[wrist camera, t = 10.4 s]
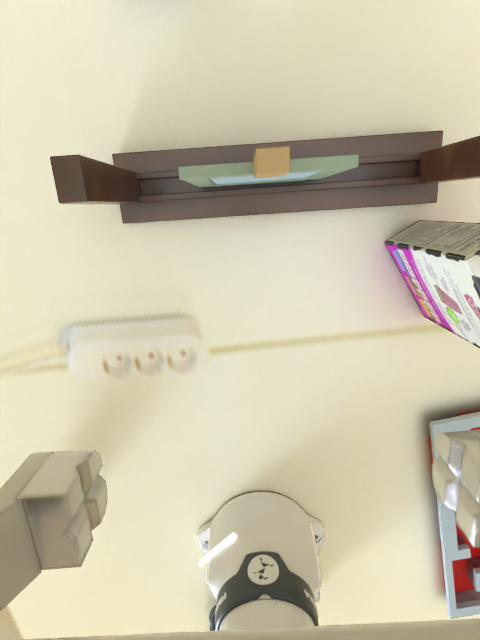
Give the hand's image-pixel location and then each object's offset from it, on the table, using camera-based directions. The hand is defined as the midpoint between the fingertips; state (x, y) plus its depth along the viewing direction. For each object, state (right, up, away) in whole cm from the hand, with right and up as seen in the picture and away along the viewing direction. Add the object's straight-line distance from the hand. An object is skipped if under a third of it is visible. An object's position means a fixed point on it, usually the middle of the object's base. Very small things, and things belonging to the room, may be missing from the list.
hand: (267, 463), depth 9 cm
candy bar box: (+21, +10, +35) cm, 42 cm away
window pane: (+1, +18, +30) cm, 35 cm away
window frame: (+3, +19, +32) cm, 37 cm away
